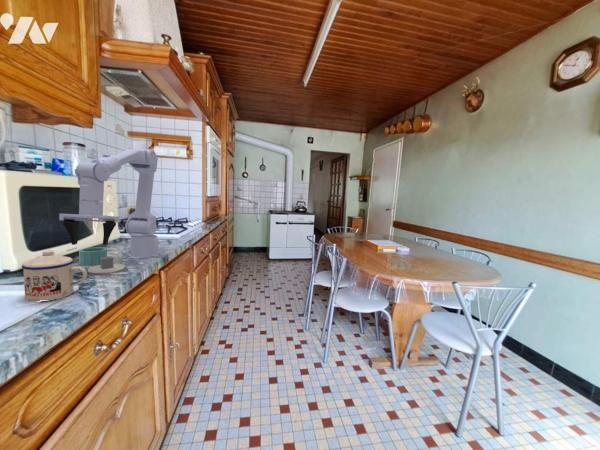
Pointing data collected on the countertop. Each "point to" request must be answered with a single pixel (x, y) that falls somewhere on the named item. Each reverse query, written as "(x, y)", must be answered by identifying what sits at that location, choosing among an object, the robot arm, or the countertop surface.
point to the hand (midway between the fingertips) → (90, 244)
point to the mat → (104, 273)
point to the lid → (106, 266)
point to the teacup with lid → (49, 277)
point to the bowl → (91, 256)
